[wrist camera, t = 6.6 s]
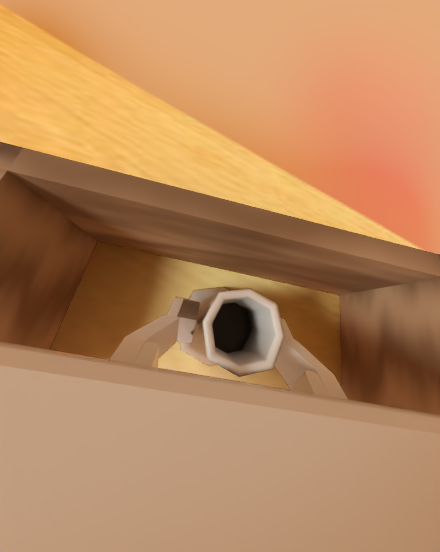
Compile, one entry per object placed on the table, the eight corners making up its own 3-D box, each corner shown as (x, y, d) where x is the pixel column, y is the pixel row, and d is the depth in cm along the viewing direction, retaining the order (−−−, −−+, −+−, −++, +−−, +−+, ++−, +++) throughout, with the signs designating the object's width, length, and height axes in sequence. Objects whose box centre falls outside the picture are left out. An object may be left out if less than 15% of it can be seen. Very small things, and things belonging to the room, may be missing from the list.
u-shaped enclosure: (358, 433, 15) (531, 555, 7) (11, 381, 13) (-282, 478, 5) (352, 284, 19) (459, 259, 11) (87, 223, 16) (-9, 139, 9)
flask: (186, 280, 16) (172, 224, 7) (256, 293, 17) (332, 260, 7) (168, 358, 14) (110, 435, 5) (247, 371, 15) (337, 461, 5)
